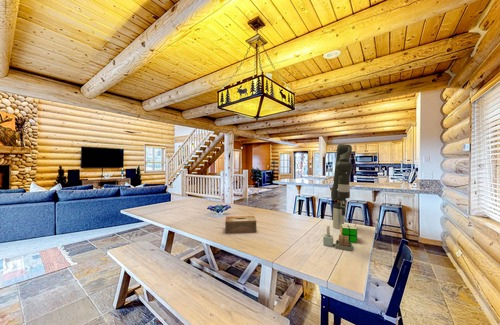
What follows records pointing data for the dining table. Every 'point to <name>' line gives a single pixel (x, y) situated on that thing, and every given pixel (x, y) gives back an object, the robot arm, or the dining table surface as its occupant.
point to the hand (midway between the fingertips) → (343, 214)
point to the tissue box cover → (240, 224)
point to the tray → (344, 246)
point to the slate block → (328, 240)
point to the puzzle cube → (349, 232)
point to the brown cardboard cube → (343, 240)
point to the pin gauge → (328, 231)
